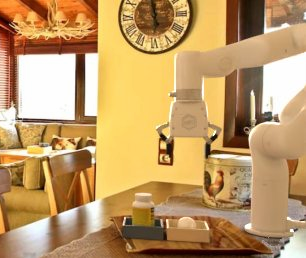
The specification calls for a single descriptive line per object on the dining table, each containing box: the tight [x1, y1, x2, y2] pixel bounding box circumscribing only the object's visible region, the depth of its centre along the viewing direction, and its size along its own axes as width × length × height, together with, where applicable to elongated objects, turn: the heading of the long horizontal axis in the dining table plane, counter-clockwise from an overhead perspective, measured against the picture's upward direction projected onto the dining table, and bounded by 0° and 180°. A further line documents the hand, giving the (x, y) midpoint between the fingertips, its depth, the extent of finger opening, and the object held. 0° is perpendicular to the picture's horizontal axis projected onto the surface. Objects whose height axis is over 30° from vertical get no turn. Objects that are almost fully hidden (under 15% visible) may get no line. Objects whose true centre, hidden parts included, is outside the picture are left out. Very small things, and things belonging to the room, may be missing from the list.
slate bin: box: [122, 216, 164, 241], centre depth 147 cm, size 11×10×4 cm
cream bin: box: [165, 218, 211, 244], centre depth 144 cm, size 11×10×4 cm
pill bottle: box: [131, 192, 156, 227], centre depth 147 cm, size 6×6×11 cm
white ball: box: [178, 216, 196, 229], centre depth 144 cm, size 5×5×5 cm
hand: (187, 157), depth 143 cm, fingers open, 9 cm apart
